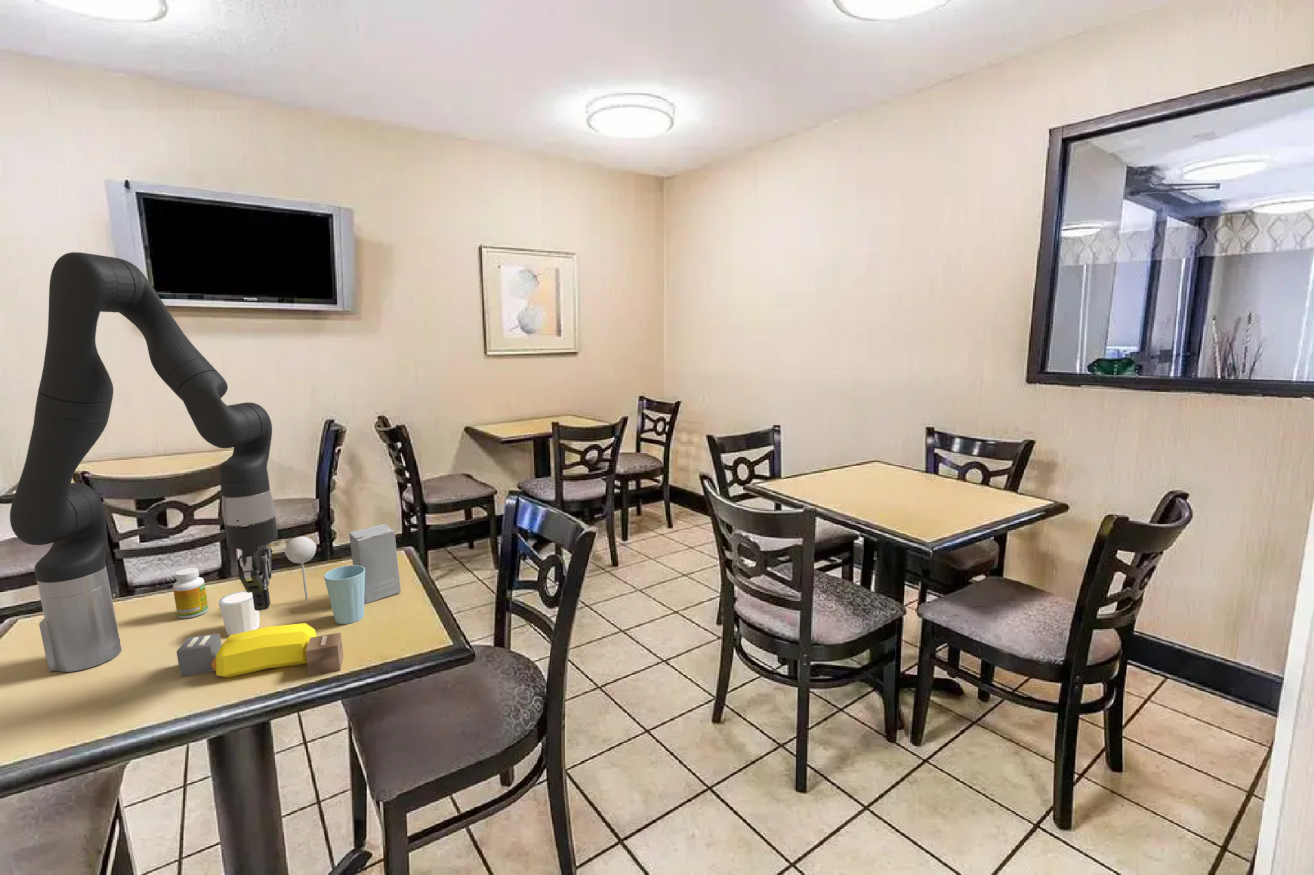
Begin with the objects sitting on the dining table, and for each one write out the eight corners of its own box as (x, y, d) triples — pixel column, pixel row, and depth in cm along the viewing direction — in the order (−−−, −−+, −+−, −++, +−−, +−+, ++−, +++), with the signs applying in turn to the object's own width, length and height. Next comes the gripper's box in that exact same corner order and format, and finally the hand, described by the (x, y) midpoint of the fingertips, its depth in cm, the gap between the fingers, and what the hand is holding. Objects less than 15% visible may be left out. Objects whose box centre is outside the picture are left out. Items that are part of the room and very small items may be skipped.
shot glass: (215, 632, 124) (211, 600, 123) (251, 618, 130) (246, 587, 129) (234, 640, 121) (230, 607, 119) (270, 625, 127) (266, 593, 125)
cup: (377, 610, 133) (372, 565, 131) (355, 628, 125) (350, 580, 123) (345, 608, 134) (339, 564, 132) (321, 626, 126) (315, 578, 124)
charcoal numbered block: (180, 677, 108) (176, 650, 107) (191, 662, 113) (187, 636, 112) (213, 672, 110) (209, 645, 109) (223, 657, 114) (219, 632, 114)
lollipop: (314, 592, 142) (307, 531, 139) (327, 598, 139) (320, 536, 136) (286, 602, 137) (278, 538, 134) (298, 609, 134) (290, 544, 131)
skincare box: (391, 585, 146) (385, 521, 143) (402, 594, 141) (397, 529, 138) (354, 595, 140) (347, 530, 137) (364, 606, 135) (357, 538, 132)
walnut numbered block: (308, 676, 108) (305, 649, 107) (313, 662, 113) (310, 636, 112) (340, 670, 110) (337, 644, 109) (343, 657, 115) (340, 631, 114)
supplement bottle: (208, 614, 131) (201, 572, 130) (176, 621, 128) (169, 578, 127) (209, 605, 136) (202, 564, 134) (178, 611, 133) (171, 569, 131)
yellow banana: (218, 663, 113) (205, 686, 106) (213, 630, 112) (200, 650, 104) (328, 644, 119) (322, 665, 112) (324, 613, 118) (318, 631, 111)
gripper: (235, 509, 112) (248, 597, 115) (212, 531, 100) (227, 629, 103) (282, 504, 115) (293, 590, 118) (265, 525, 103) (278, 620, 106)
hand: (262, 608), depth 110 cm, fingers closed
